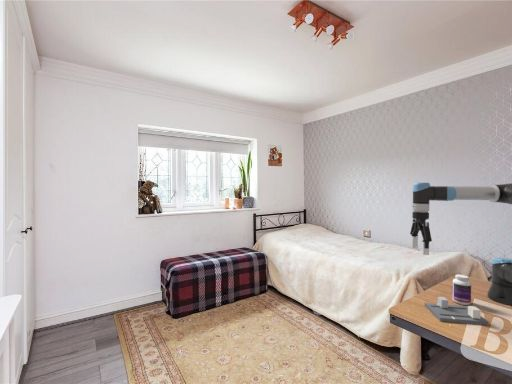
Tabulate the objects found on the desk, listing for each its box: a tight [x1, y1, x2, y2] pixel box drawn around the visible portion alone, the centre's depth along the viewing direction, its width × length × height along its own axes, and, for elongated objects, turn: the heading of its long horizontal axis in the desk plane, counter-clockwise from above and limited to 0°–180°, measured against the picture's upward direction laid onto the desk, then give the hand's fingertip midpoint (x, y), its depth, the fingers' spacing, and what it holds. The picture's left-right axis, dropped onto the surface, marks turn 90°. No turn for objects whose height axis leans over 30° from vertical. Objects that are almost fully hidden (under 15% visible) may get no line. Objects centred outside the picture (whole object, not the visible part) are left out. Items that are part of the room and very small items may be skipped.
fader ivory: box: [467, 305, 482, 319], centre depth 124 cm, size 3×4×4 cm
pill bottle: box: [451, 273, 472, 306], centre depth 144 cm, size 8×8×14 cm
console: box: [423, 302, 490, 326], centre depth 130 cm, size 20×16×2 cm
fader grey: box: [437, 296, 449, 308], centre depth 135 cm, size 3×4×4 cm
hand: (419, 251), depth 142 cm, fingers open, 13 cm apart
